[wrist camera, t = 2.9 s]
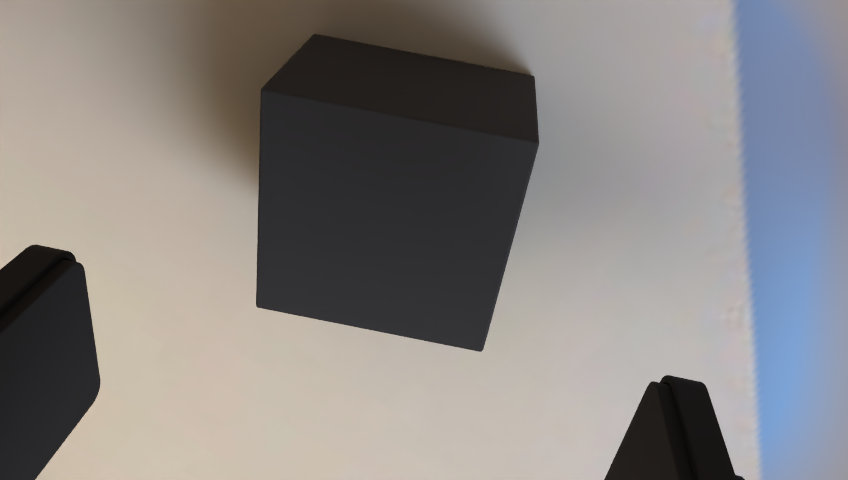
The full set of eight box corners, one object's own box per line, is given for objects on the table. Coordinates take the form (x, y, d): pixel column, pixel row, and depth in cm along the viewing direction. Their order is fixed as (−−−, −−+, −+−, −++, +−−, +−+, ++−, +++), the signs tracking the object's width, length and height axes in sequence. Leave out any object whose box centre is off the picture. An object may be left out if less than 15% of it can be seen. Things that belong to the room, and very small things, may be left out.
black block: (301, 222, 19) (255, 308, 16) (313, 33, 16) (260, 87, 13) (488, 259, 19) (482, 353, 16) (535, 75, 16) (540, 141, 13)
